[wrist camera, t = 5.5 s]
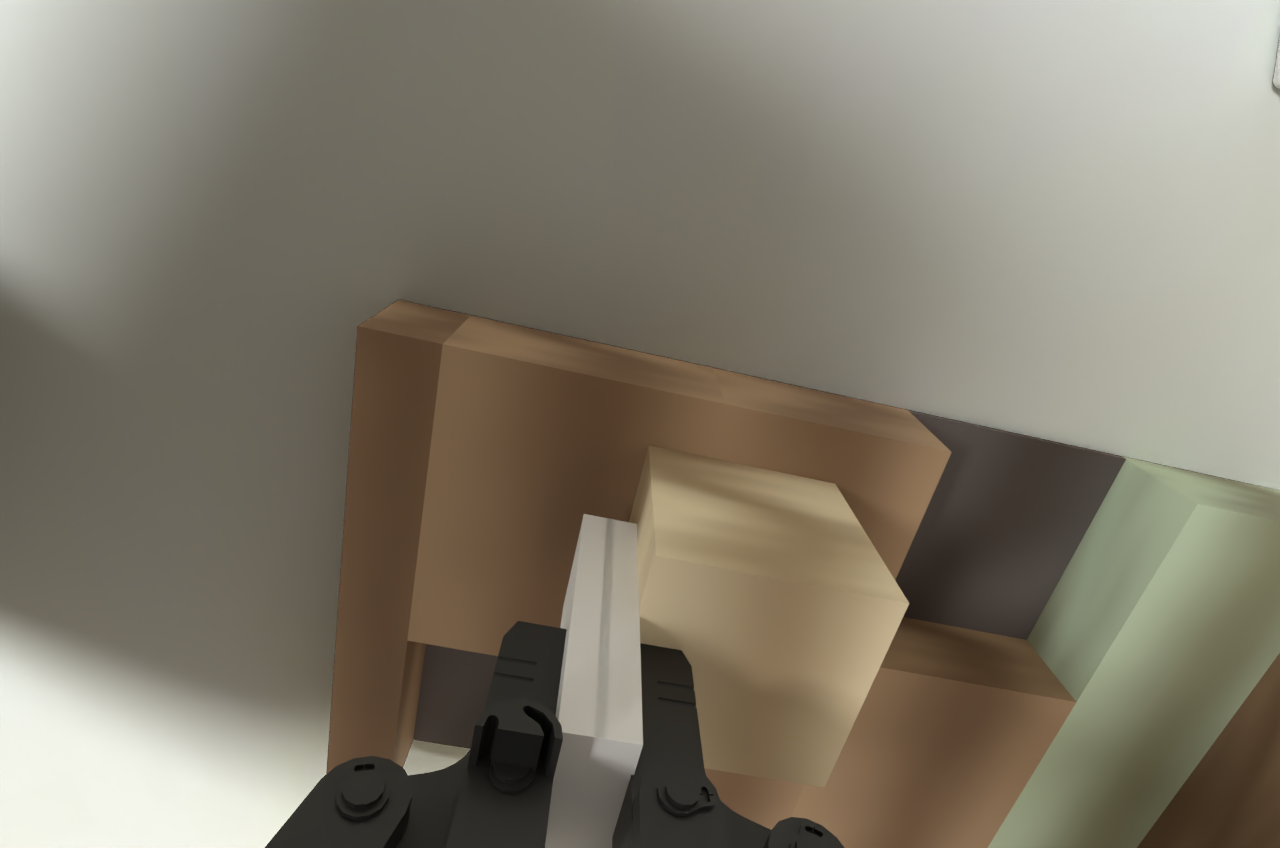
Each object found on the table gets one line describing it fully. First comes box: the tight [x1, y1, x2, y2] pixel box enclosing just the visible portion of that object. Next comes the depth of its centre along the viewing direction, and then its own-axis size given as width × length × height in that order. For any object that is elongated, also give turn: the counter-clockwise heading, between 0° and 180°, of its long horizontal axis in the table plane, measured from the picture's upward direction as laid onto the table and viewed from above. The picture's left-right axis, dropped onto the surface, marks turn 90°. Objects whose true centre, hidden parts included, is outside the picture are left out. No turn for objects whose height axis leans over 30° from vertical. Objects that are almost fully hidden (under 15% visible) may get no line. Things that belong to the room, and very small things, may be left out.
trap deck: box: [327, 300, 1280, 848], centre depth 20 cm, size 28×16×6 cm, turn 77°
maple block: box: [629, 445, 909, 787], centre depth 16 cm, size 5×5×5 cm
